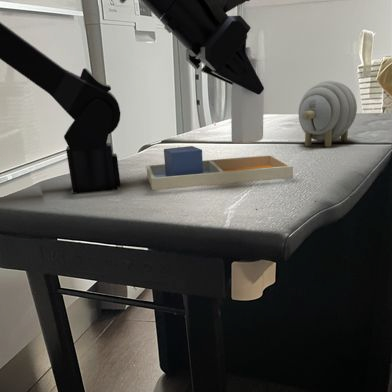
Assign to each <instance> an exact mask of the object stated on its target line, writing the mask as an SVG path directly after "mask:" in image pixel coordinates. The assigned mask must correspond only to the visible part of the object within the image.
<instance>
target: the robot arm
mask: <svg viewBox="0 0 392 392" xmlns="http://www.w3.org/2000/svg"><path fill="white" fill-rule="evenodd" d="M140 1H141V2H142V3H143V5H145V6H146V7H147V8H148V10H149V11H150V12H151V13H152V14H153V15H154V16H155V17H156V18H157V19H158V20H159V22H161V23H162V24H163V26H164V27H163V28H164V29H165V30H166V31H167V32H168V34H170V33H171V34H172V35H173V36H174V37H175V38H176V39H177V40H178V41H179V42H180V44H182V45H183V46H184V47H185V60H186V61H187V63H189V64H190V66H192V68H194V70H198V69H199V68H200V67H201V65H200V64H202V65H203V67H202V68H201V69H200V72H202V73H204V74H206V75H208V76H210V77H213V78H215V79H218V80H219V81H221V82H224V83H226V84H229V85H231V86H232V85H233V83H235V84H237V85H239V86H241V87H243V88H245V89H247V90H249V91H251V92H253V93H256V94H258V95H260V94H261V93H262V91H263V90H264V91H265V87H264V84H263V85H262V83H263V82H262V83H261V81H262V80H261V79H260V77H259V76H258V74H257V71H256V72H255V70H254V68H253V66H252V64H251V62H250V60H249V58H248V56H247V54H246V47H247V39H248V33H249V32H250V30H251V28H252V27H251V26H250V25H249V24H248V22H247V21H246V20H245V19H244V18H243V17H242V16H241V15H228V14H227V13H228V12H230V11H231V10H233V9H235V8H237V7H238V6H240V5H243V4H244V3H246V2H251V0H140ZM126 2H127V0H119V3H121V4H124V3H126ZM0 60H1V61H2V62H4V63H5V64H6V65H8V66H9V67H11V68H12V69H14V70H15V71H16V72H18V73H19V74H20V75H22V76H24V78H26V79H27V80H28V81H30V82H32V83H33V84H34V85H36V86H37V87H39V88H40V89H42V90H43V91H44V92H46V93H47V94H49V95H50V96H51V97H52V98H53V100H55V101H56V103H57V104H58V105H59V106H60V107H61V108H62V109H63V110H64V112H65V113H67V115H68V116H70V117H71V119H73V122H71V124H70V126H69V127H68V128H67V130H66V131H65V133H64V135H63V139H64V140H65V142H66V145H67V146H66V149H65V152H66V159H67V164H68V171H69V176H70V177H69V178H70V182H71V192H70V193H71V194H72V195H73V194H84V193H85V194H86V193H98V192H111V191H117V190H118V187H120V186H121V178H120V177H121V175H120V170H119V160H118V155H117V153H113V147H112V142H108V139H109V135H110V134H112V133H113V132H114V131H115V130H116V129H117V128H118V126H119V124H120V121H121V109H120V108H121V107H120V104H119V102H118V100H117V99H116V98H117V97H116V96H115V95H114V94H113V93H112V92H111V90H112V88H111V85H110V84H106V83H103V82H101V81H100V80H99V79H98V78H96V76H94V75H93V74H92V72H91V71H90V70H88V69H87V68H86V67H85V68H83V69H82V71H81V74H80V76H79V75H77V74H75V73H73V72H72V71H69V70H67V69H66V68H64V67H62V66H61V65H60V64H58V63H57V62H55V61H54V60H53V59H51V58H50V57H49V56H47V55H46V54H45V53H43V52H42V51H40V50H39V48H37V47H35V46H34V45H33V44H31V43H30V42H28V41H27V40H25V39H24V38H23V37H21V36H20V35H19V34H17V33H16V32H15V31H14V30H12V29H11V28H9V27H8V26H7V25H5V24H4V23H3V22H1V21H0ZM260 80H261V81H260Z"/></svg>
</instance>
